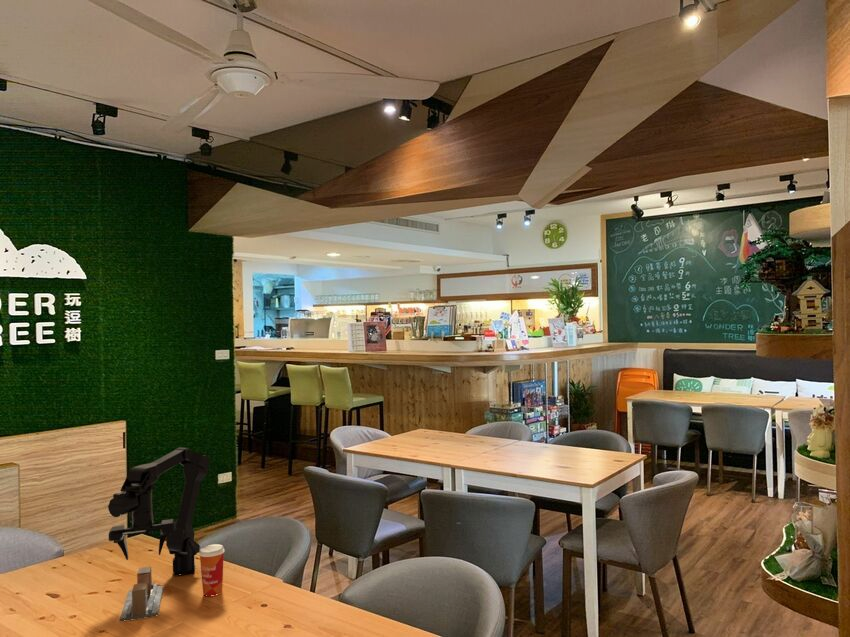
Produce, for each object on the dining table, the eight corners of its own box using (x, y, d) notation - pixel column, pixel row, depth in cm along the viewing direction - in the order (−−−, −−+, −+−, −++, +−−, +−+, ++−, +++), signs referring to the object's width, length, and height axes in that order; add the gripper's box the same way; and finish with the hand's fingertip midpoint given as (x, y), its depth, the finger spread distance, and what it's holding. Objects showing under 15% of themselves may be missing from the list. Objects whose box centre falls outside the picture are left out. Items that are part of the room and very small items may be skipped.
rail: (163, 588, 196) (162, 563, 196) (158, 615, 177) (157, 587, 177) (128, 593, 193) (128, 568, 193) (119, 622, 174) (119, 593, 174)
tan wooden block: (151, 588, 194) (151, 566, 194) (150, 595, 188) (149, 572, 188) (139, 590, 192) (139, 567, 193) (137, 597, 187) (136, 574, 187)
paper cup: (194, 595, 190) (193, 550, 190) (213, 586, 197) (212, 542, 197) (212, 600, 186) (211, 554, 186) (231, 590, 193) (230, 545, 193)
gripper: (175, 496, 204) (176, 543, 204) (112, 504, 197) (113, 552, 197) (173, 505, 193) (175, 555, 193) (107, 514, 187) (109, 565, 187)
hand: (143, 556), depth 193 cm, fingers open, 9 cm apart
